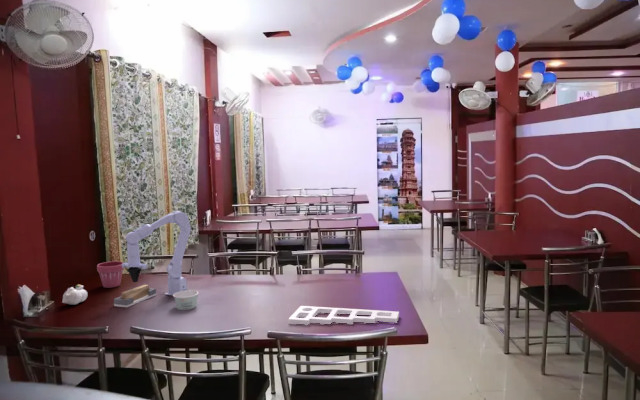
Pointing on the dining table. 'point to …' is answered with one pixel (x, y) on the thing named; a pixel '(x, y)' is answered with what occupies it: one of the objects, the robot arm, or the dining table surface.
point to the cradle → (129, 301)
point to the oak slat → (136, 292)
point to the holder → (311, 312)
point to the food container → (186, 299)
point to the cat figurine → (74, 295)
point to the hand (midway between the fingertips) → (135, 281)
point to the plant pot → (110, 273)
